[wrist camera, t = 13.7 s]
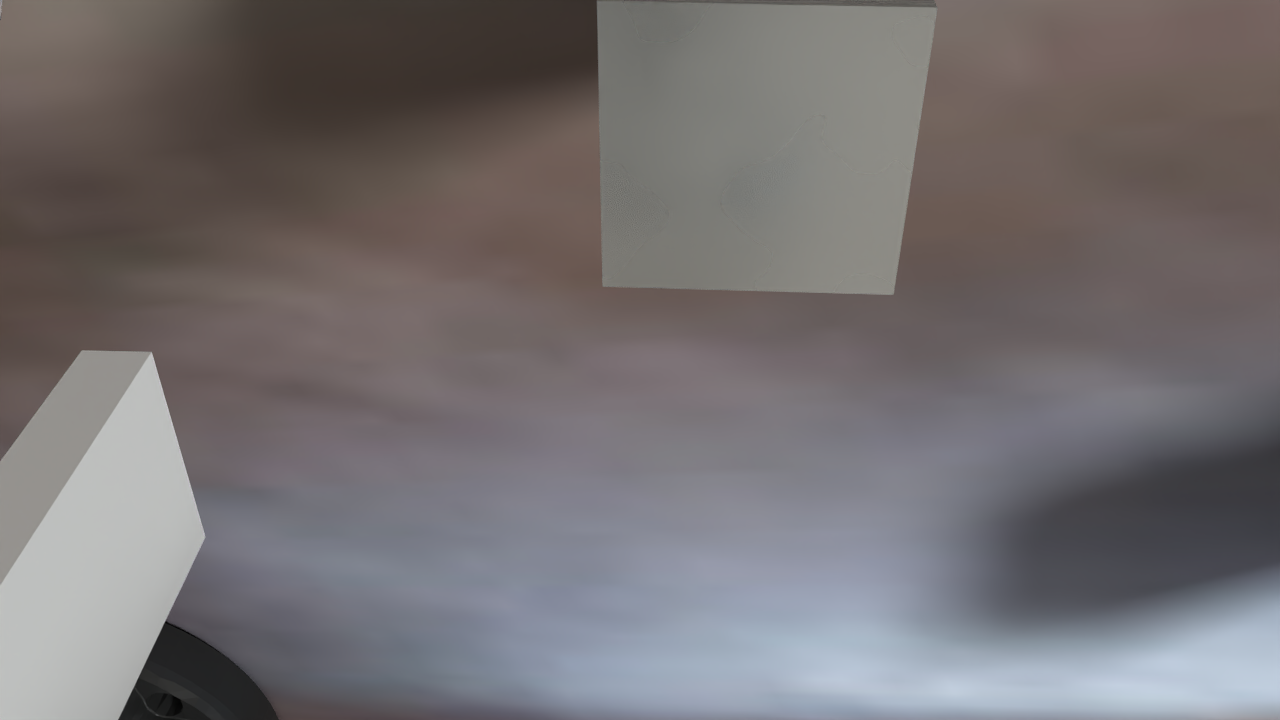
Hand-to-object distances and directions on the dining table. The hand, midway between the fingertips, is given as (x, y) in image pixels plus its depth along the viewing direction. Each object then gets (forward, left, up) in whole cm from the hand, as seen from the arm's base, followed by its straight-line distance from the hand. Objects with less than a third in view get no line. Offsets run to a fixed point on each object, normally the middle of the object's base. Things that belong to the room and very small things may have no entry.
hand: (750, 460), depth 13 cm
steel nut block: (0, 0, -20) cm, 20 cm away
